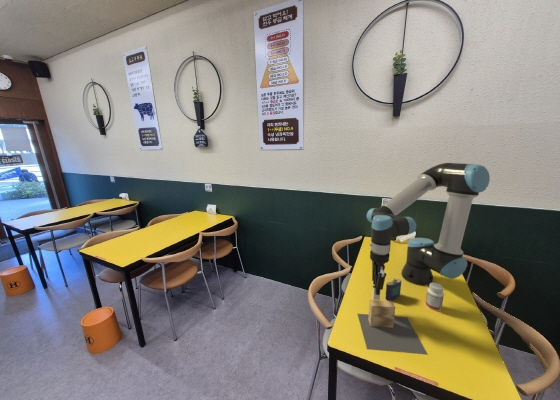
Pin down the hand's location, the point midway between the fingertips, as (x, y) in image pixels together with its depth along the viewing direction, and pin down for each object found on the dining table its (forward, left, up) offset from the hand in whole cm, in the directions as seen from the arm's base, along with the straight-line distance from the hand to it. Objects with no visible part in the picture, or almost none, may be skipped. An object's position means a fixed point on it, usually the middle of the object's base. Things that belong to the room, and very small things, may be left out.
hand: (376, 298), depth 100 cm
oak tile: (0, +8, -6) cm, 10 cm away
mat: (-2, +12, -7) cm, 14 cm away
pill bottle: (-27, -5, -7) cm, 28 cm away
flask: (-11, -10, -7) cm, 16 cm away
